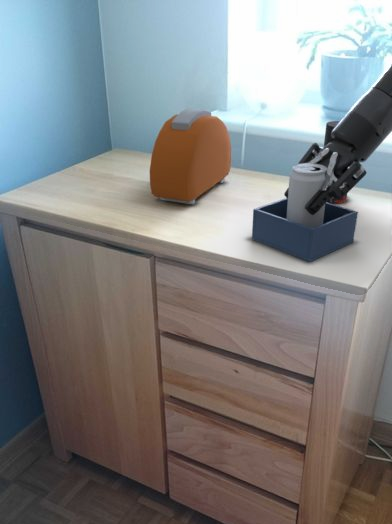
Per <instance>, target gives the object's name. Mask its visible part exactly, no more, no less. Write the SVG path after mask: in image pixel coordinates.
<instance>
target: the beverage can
mask: <svg viewBox="0 0 392 524" xmlns="http://www.w3.org/2000/svg"><path fill="white" fill-rule="evenodd" d="M317 168H320V169H321V170H318V169H317ZM311 170H313V171H311ZM326 170H327V168H326V167H325V166H323V165H320V164H314V163H303V164H298V163H297V164H295V165H293V166H292V170H291V172H290V173H289V179H288V188H289V190H288V204H287V218H286V219H287V220H290V221H293V222H296V223H299V224H302V225H305V226H308V227H310V228H315V227H317V226H320V225H322V224H323V219H324V210H325V204H324V205H323V206H322V208H321V209H320V210H319V211H318V212H317V213H315V214H314V215H311V214H310V213H309V212H308V211H307V210H306V209H305V205H306V204H307V203H308V202H309V201H310V199H311V198H312V197H313V196H314V195H315V194H316V193H317V192H318V190H321V191H322V189H321V188H322V186H323V183H324V181H325V180H326V178H325V173H326Z"/></svg>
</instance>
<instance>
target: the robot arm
mask: <svg viewBox="0 0 392 524" xmlns="http://www.w3.org/2000/svg"><path fill="white" fill-rule="evenodd" d="M339 121H340V122H339V124H338V125H337V126H336V127H335V128H334V129H333V131H332V133H331V136H332V140H331V142H330V143H329V144H327V145H326V146H325V147H324V146H323V147H322V146H320V145H319V144H318V143H317V142H314V143H312V144H311V146H310V147H309V148H308V150H307V151H306V152H305V153H304V155H303V156H302V157H301V159H300V160H299V161H298V163H297V164H303V163H314V164H320V165H323V166H325V167H326V168H327V170H326V173H325V178H326V180H325V181H324V183H323V186H322V188H321V189H322V191H321V190H318V192H317V193H316V194H315V195H314V196H313V197H312V198H311V199H310V201H309V202H308V203H307V204H306V205H305V209H306V210H307V211H308V212H309V213H310V214H311V215H314V214H315V213H317V212H318V211H319V210H320V209H321V208H322V206H323V205H324V204H325V203H326V202H327V201H328V200H329V199H332V198H334V197H337V198H338V199H342V198H343V197H344V196H345V195H346V194H347V195H348V193H349V192H350V191H351V190H352V189H353V188H354V187H356V185H357V184H358V183H359V182H360V181H361V180H362V179H363V178H365V176H366V175H367V174H368V173H367V171H366V168H365V167H364V166H363V165H362V164H361V163H365V162H366V161H367V160H368V159H369V158H370V157H371V156H372V155H373V153H374V152H375V151H376V150H377V149H378V148H379V146H380V145H381V144H382V143H383V142H384V141H385V140H386V139H387V137H389V135H390V134H391V133H392V60H390V63H389V65H388V66H387V69H386V70H385V71H384V72H383V73H382V74H381V75H380V76H379V78H378V79H377V80H376V82H374V83H373V85H372V86H371V88H369V89H368V91H366V92H365V93H364V94H363V95H362V96H361V97H360V98H359V99H358V100H357V101H356V102H355V103H354V105H352V107H351V108H350V110H349V111H347V113H346V114H345V115H344V117H342V119H341V120H339ZM317 169H318V170H321V169H320V168H317ZM311 171H313V170H311ZM344 183H346V185H345V186H344V187H343V188H342V189H341V190H340V189H339V188H340V187H341V186H342V185H343V184H344ZM330 185H331V186H330ZM288 190H289V187H287V188H286V190H285V192H284V193H283V194H284V195H283V196H284V197H285V198H287V199H288Z"/></svg>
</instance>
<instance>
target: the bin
mask: <svg viewBox="0 0 392 524" xmlns="http://www.w3.org/2000/svg"><path fill="white" fill-rule="evenodd" d="M287 204H288V199H287V198H286V197H285V198H281V199H278V200H276V201H273V202H269V203H267V204H264V205H261V206H258V207H256V208H253V210H252V229H251V230H252V231H251V240H253V241H256V242H258V243H261V244H263V245H265V246H268V247H271V248H274V249H276V250H278V251H281V252H282V253H286V254H289V255H291V256H294V257H295V258H298V259H301V260H304V261H306V262H308V263H311V262H313V261H316V260H317V259H319V258H321V257H324V256H326V255H329V254H330V253H332V252H336V251H337V250H339V249H342V248H344V247H346V246H348V245H350V244H353V243H354V239H355V233H356V227H357V221H358V215H359V211H357V210H353V209H350V208H347V207H344V206H340V205H337V204H332V203H328V202H326V203H325V210H324V219H323V224H322V225H320V226H317V227H315V228H310V227H308V226H305V225H302V224H299V223H296V222H293V221H290V220H287V219H286V218H287Z"/></svg>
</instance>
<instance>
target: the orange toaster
mask: <svg viewBox="0 0 392 524" xmlns="http://www.w3.org/2000/svg"><path fill="white" fill-rule="evenodd" d="M231 166H232V143H231V138H230V134H229V131H228V127H227V126H226V124H225V123H224V121H222V120H221V119H220V118H219V117H218V116H217V115H212V112H211V111H210V110H207V109H201V108H200V109H199V108H184V109H183V110H182V111H180V112H179V113H178V114H174V115H173V116H171V117H170V118H169V119H167V120H166V121H165V122H164V124H163V125H162V127H161V129H160V130H159V133H158V134H157V137H156V139H155V141H154V145H153V149H152V152H151V158H150V166H149V186H150V192H151V195H152V196H154V197H156V198H160V200H161V201H167V202H171V203H178V204H186V205H194V204H195V203H196V199H197V198H198V197H200V196H201V195H203V194H204V193H206V192H207V191H208V190H210V189H211V188H212V187H214V186H215V185H216V184H223V183H224V182H225V178H226V177H227V176H229V173H230V171H231Z"/></svg>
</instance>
